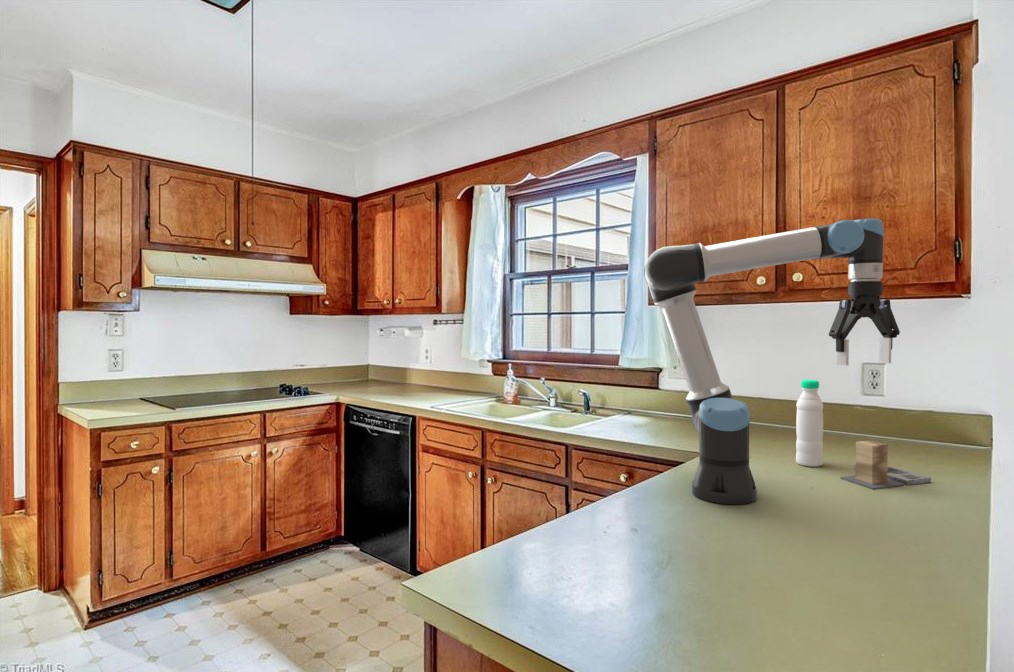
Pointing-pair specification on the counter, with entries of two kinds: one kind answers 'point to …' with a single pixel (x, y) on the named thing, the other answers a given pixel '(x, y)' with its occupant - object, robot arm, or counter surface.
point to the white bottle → (809, 425)
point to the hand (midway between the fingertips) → (864, 364)
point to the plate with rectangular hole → (905, 476)
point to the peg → (871, 461)
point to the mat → (872, 486)
